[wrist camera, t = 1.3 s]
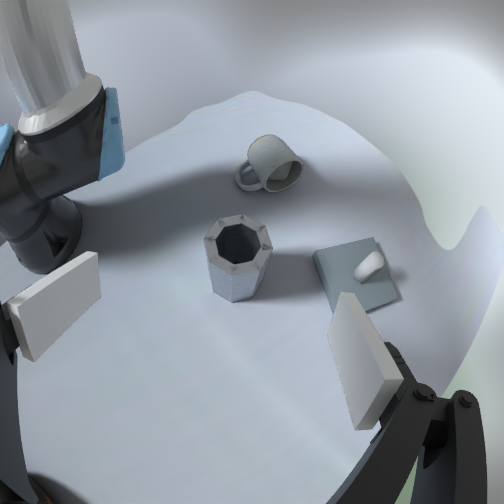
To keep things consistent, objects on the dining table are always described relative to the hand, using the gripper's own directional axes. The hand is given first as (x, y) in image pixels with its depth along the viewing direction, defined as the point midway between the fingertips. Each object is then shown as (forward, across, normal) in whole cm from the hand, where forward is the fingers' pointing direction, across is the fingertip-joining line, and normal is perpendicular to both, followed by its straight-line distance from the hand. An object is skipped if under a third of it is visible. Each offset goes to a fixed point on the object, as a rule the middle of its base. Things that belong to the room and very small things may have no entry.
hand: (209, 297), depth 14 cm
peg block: (+27, +18, -8) cm, 34 cm away
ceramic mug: (+39, +2, +4) cm, 39 cm away
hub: (+25, 0, -10) cm, 27 cm away
